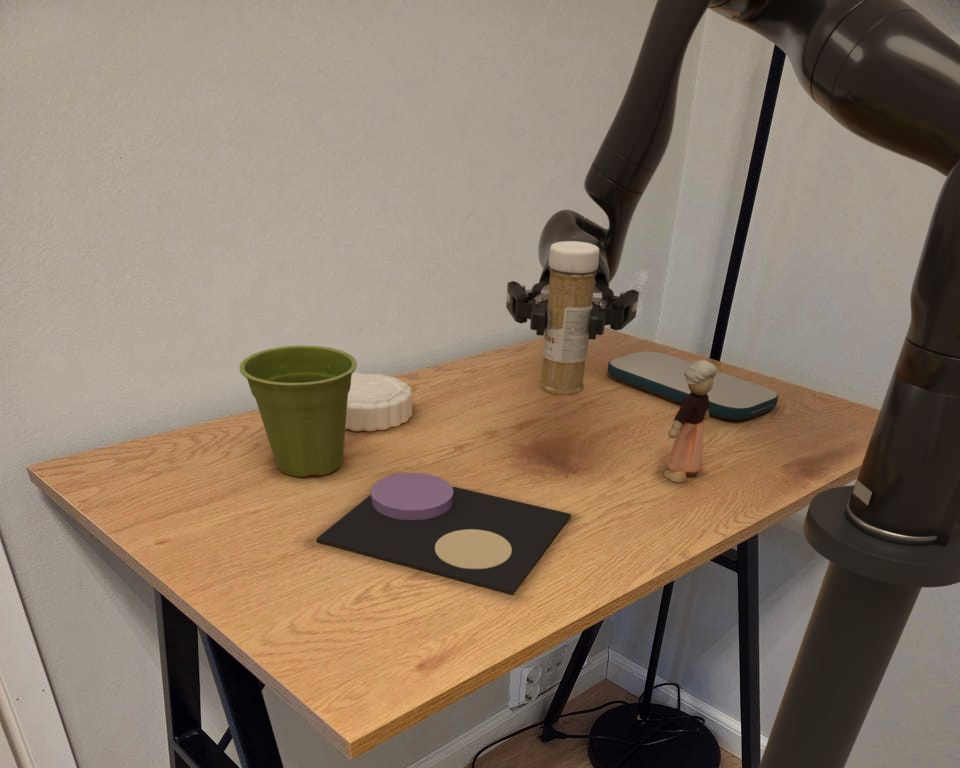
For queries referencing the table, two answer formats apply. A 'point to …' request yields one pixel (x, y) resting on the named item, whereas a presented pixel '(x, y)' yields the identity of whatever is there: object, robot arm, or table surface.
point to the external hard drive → (669, 381)
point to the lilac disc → (412, 496)
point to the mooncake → (377, 402)
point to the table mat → (456, 538)
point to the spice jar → (568, 316)
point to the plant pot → (302, 404)
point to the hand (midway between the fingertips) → (567, 326)
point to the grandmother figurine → (691, 423)
